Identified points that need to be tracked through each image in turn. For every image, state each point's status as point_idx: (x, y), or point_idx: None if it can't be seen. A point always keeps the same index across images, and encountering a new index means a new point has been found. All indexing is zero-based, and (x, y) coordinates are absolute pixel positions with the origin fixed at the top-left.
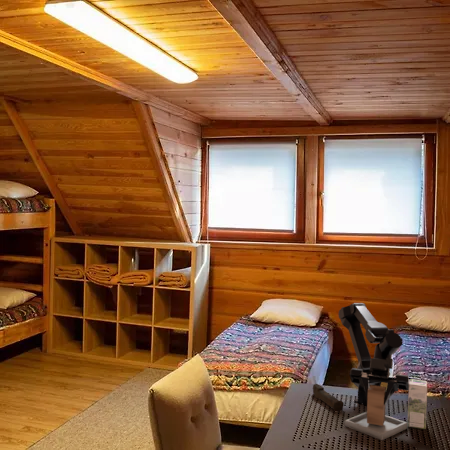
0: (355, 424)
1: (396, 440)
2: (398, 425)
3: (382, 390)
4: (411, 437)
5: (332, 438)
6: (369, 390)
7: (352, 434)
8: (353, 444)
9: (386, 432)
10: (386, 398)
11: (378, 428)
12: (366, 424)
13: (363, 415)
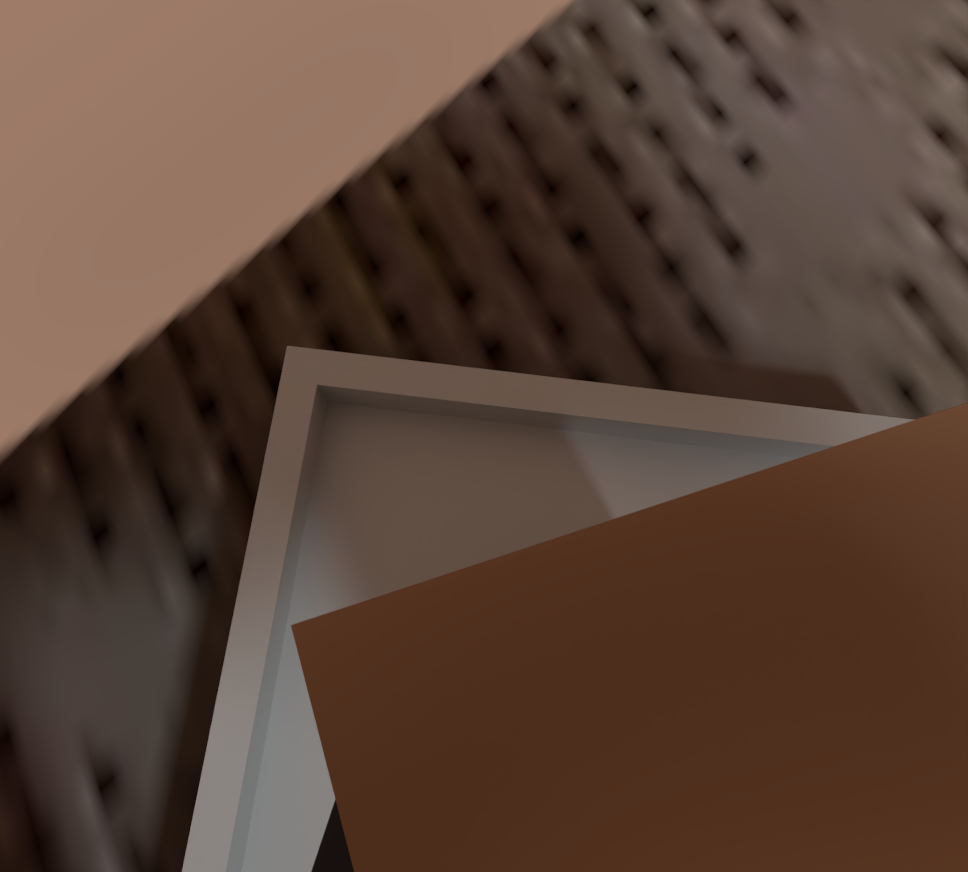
0: (744, 403)
1: (161, 502)
2: (215, 834)
3: (425, 775)
4: (20, 747)
5: (764, 58)
6: (908, 431)
7: (669, 290)
8: (513, 77)
9: (269, 443)
10: (331, 845)
11: None
12: None
13: None
